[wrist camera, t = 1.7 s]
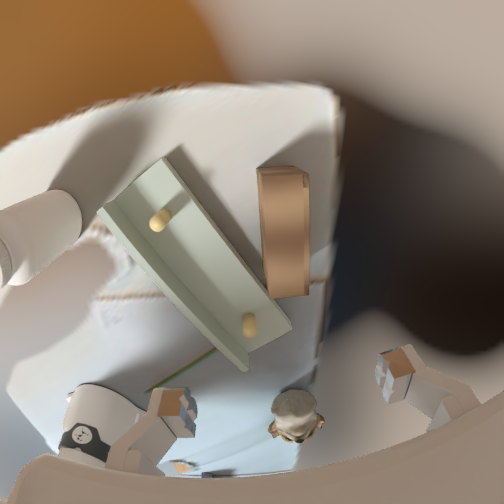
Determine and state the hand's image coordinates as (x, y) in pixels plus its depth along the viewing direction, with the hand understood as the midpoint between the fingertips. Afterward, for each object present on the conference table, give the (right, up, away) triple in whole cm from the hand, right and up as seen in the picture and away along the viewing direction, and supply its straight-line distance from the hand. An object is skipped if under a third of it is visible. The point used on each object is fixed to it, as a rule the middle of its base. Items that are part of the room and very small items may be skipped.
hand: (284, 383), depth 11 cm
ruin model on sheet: (-14, -58, +49) cm, 77 cm away
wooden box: (+2, +9, +22) cm, 24 cm away
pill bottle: (-26, +10, +20) cm, 34 cm away
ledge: (-7, +4, +23) cm, 25 cm away
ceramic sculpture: (+6, -22, +35) cm, 42 cm away
